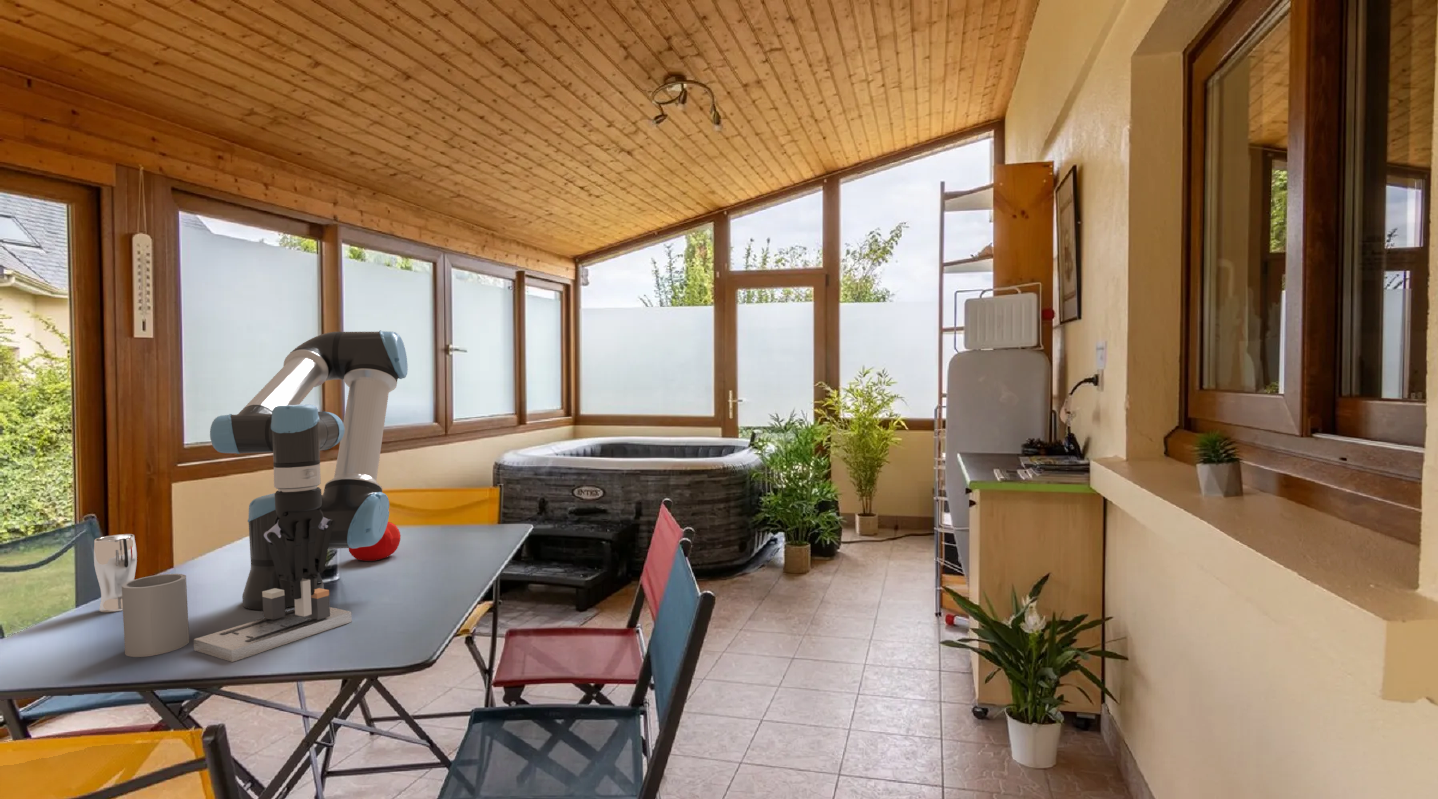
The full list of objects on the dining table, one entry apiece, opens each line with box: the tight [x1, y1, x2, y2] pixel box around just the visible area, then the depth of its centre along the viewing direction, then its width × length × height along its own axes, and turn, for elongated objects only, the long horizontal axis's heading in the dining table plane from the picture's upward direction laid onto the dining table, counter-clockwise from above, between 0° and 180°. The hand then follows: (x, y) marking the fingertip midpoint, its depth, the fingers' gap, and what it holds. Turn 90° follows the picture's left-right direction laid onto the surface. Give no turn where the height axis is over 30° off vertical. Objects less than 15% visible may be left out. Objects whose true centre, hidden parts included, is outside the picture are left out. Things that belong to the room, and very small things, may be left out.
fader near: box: [308, 588, 331, 620], centre depth 140 cm, size 3×2×5 cm
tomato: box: [348, 521, 402, 562], centre depth 194 cm, size 11×13×10 cm
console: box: [193, 606, 353, 663], centre depth 137 cm, size 12×22×2 cm, turn 151°
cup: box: [122, 573, 190, 658], centre depth 132 cm, size 9×9×12 cm
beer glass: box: [93, 533, 138, 613], centre depth 155 cm, size 7×7×15 cm
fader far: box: [262, 588, 286, 620], centre depth 141 cm, size 3×2×5 cm
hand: (303, 614), depth 138 cm, fingers closed
